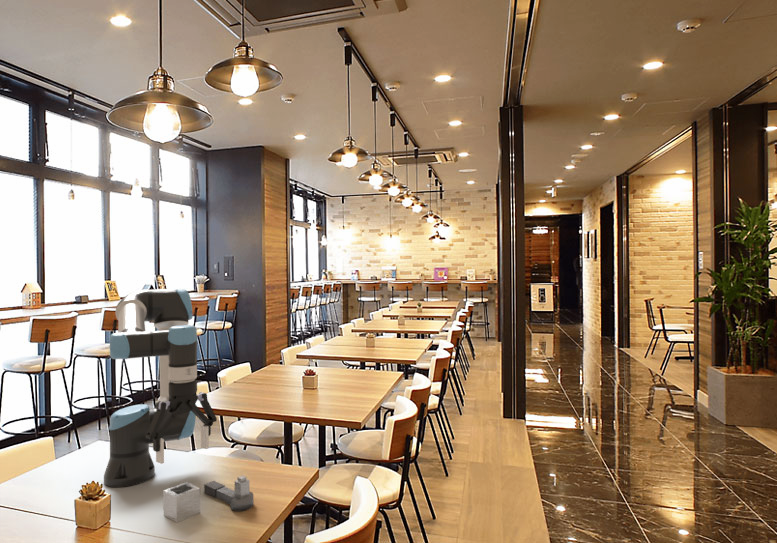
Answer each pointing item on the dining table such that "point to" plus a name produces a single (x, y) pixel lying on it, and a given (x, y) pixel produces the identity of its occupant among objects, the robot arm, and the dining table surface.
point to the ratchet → (232, 493)
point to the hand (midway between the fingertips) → (183, 454)
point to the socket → (181, 501)
